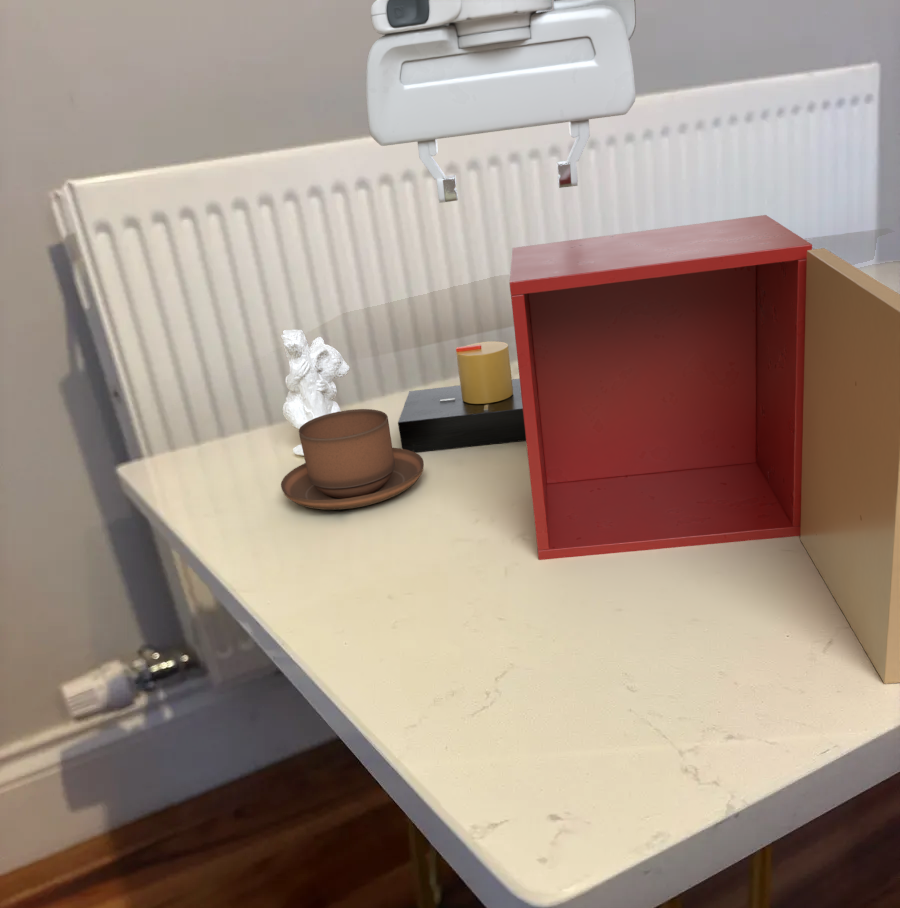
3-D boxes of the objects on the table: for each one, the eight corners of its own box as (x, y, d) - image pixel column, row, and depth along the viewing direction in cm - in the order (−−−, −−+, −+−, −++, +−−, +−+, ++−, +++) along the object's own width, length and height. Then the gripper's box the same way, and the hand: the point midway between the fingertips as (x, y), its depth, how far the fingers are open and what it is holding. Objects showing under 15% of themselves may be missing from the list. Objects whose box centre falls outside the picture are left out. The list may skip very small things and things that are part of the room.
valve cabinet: (805, 536, 68) (812, 244, 59) (538, 561, 70) (509, 282, 61) (764, 467, 79) (766, 214, 71) (537, 490, 81) (512, 247, 73)
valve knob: (513, 385, 98) (508, 335, 96) (512, 400, 94) (507, 348, 91) (463, 391, 98) (457, 341, 96) (460, 406, 94) (453, 354, 92)
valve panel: (538, 406, 101) (535, 374, 100) (539, 439, 92) (536, 405, 91) (413, 420, 103) (408, 389, 101) (402, 453, 94) (397, 420, 92)
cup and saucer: (257, 506, 87) (240, 436, 84) (363, 459, 94) (351, 394, 91) (347, 533, 79) (332, 457, 76) (456, 480, 86) (446, 409, 83)
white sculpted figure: (340, 467, 93) (315, 334, 88) (273, 469, 95) (244, 340, 89) (371, 435, 100) (349, 311, 95) (307, 438, 102) (283, 317, 97)
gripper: (629, -26, 76) (636, 173, 83) (358, 12, 78) (385, 204, 85) (639, -33, 71) (646, 181, 77) (348, 9, 73) (378, 214, 79)
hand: (508, 193), depth 81 cm, fingers open, 8 cm apart
